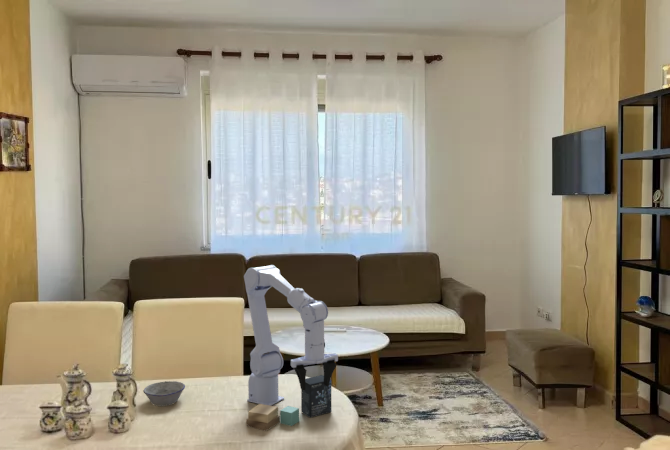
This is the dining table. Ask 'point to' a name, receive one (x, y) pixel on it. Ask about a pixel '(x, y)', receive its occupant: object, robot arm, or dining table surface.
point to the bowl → (164, 392)
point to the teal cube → (289, 415)
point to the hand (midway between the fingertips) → (314, 387)
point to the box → (316, 397)
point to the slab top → (263, 413)
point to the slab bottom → (263, 425)
